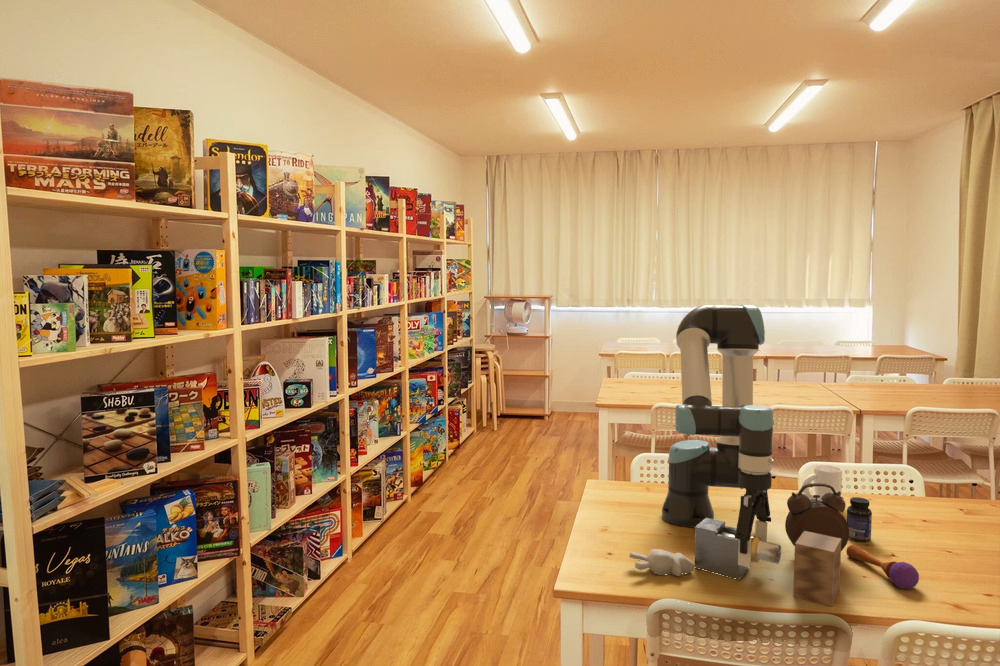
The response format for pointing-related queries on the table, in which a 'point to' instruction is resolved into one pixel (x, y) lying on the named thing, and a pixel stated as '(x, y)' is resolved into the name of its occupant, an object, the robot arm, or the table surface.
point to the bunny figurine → (663, 562)
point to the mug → (824, 480)
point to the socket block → (817, 568)
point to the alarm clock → (817, 515)
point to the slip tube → (761, 549)
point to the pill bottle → (859, 520)
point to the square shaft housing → (717, 549)
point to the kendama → (889, 568)
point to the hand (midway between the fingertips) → (752, 556)
